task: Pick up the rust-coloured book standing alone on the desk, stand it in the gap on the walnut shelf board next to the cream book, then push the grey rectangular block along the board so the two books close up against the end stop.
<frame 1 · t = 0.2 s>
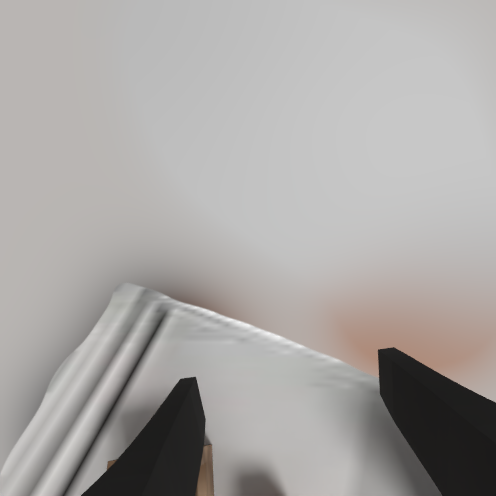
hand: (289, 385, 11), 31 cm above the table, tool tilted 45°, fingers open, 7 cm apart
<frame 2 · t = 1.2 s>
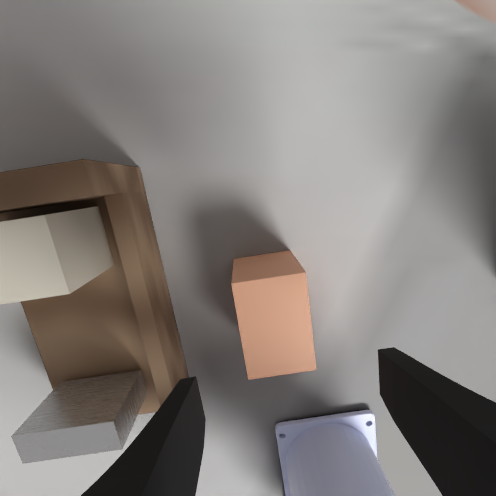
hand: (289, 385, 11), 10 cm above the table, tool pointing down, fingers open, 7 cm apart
rust book: (267, 293, 20), on the table
grey rectangular block: (88, 411, 18), point 3 cm above the table, slide at 0.0 cm
shelf board: (101, 306, 20), on the table
cream book: (61, 243, 18), point 1 cm above the table, touching shelf board
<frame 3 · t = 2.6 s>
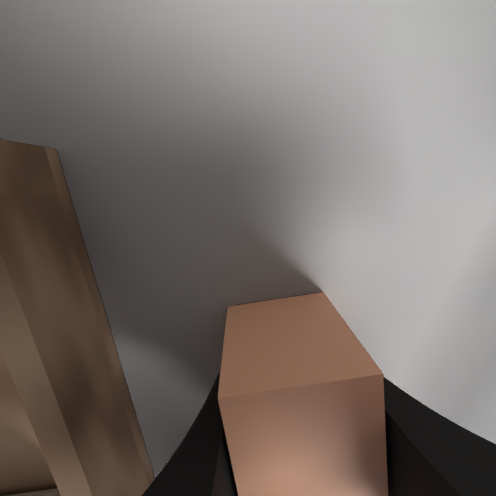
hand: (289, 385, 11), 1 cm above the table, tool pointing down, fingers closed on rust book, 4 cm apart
rust book: (283, 361, 12), on the table, touching gripper
shelf board: (8, 382, 12), on the table
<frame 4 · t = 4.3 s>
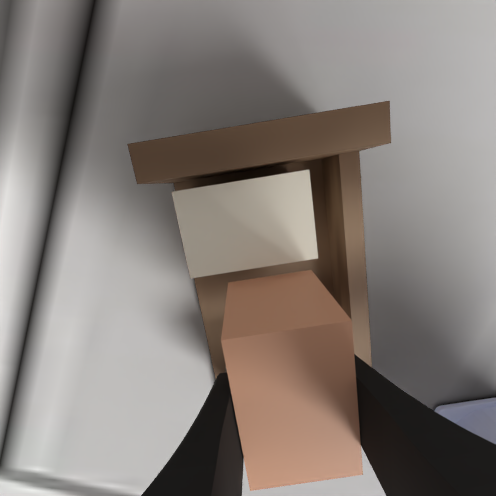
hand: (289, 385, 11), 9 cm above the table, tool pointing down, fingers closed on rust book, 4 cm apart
rust book: (277, 332, 14), point 5 cm above the table, touching gripper
grey rectangular block: (274, 392, 17), point 3 cm above the table, slide at 0.0 cm
shelf board: (271, 282, 19), on the table
cream book: (245, 213, 17), point 1 cm above the table, touching shelf board
when the fingers open (3 cm above the table, at t = 6.8 s): rust book stays where it is, resting on shelf board.
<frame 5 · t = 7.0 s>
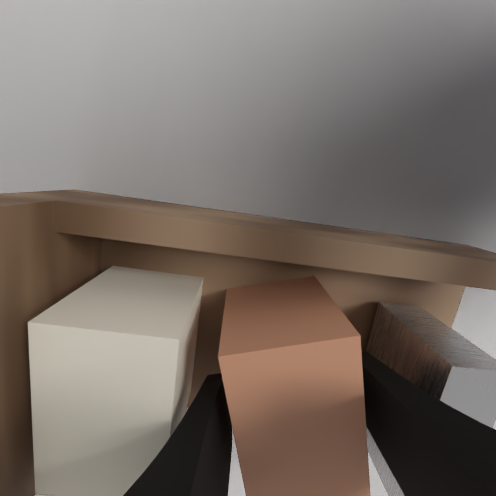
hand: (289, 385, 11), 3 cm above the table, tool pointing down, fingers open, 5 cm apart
rust book: (278, 340, 13), point 1 cm above the table, touching shelf board
grey rectangular block: (411, 397, 11), point 3 cm above the table, slide at 0.0 cm, touching gripper
shelf board: (261, 319, 14), on the table
cream book: (154, 332, 13), point 1 cm above the table, touching gripper, shelf board
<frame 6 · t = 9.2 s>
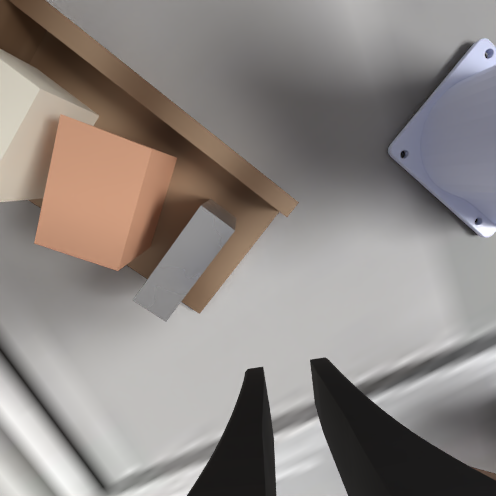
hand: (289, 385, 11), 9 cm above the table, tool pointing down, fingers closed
rust book: (132, 192, 18), point 1 cm above the table, touching shelf board
grey rectangular block: (190, 254, 16), point 3 cm above the table, slide at 0.0 cm
shelf board: (130, 175, 18), on the table
cream book: (44, 136, 17), point 1 cm above the table, touching shelf board
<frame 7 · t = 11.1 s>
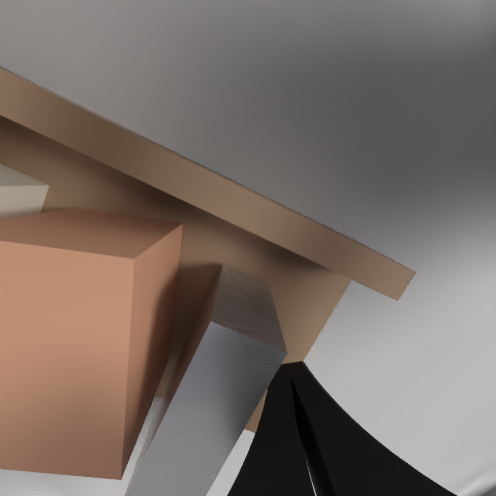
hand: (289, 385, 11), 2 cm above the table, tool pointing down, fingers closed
rust book: (126, 288, 11), point 1 cm above the table, touching shelf board
grey rectangular block: (209, 373, 9), point 3 cm above the table, slide at 1.0 cm, touching gripper
shelf board: (117, 260, 12), on the table
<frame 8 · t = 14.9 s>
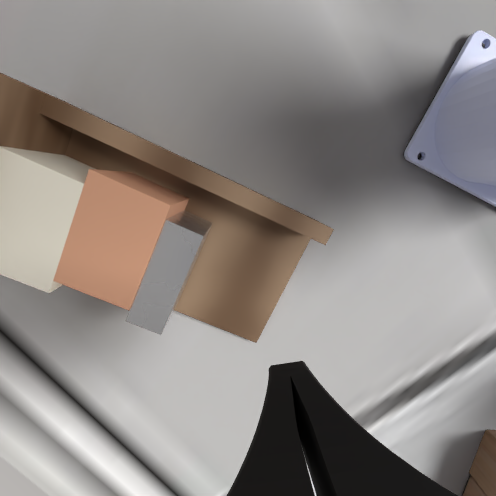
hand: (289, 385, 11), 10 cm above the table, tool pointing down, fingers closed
rust book: (144, 227, 19), point 1 cm above the table, touching cream book, shelf board
grey rectangular block: (173, 267, 17), point 3 cm above the table, slide at 4.5 cm
shelf board: (168, 232, 19), on the table
cream book: (82, 212, 18), point 1 cm above the table, touching rust book, shelf board
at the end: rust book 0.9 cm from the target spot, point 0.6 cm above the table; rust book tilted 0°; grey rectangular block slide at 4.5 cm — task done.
